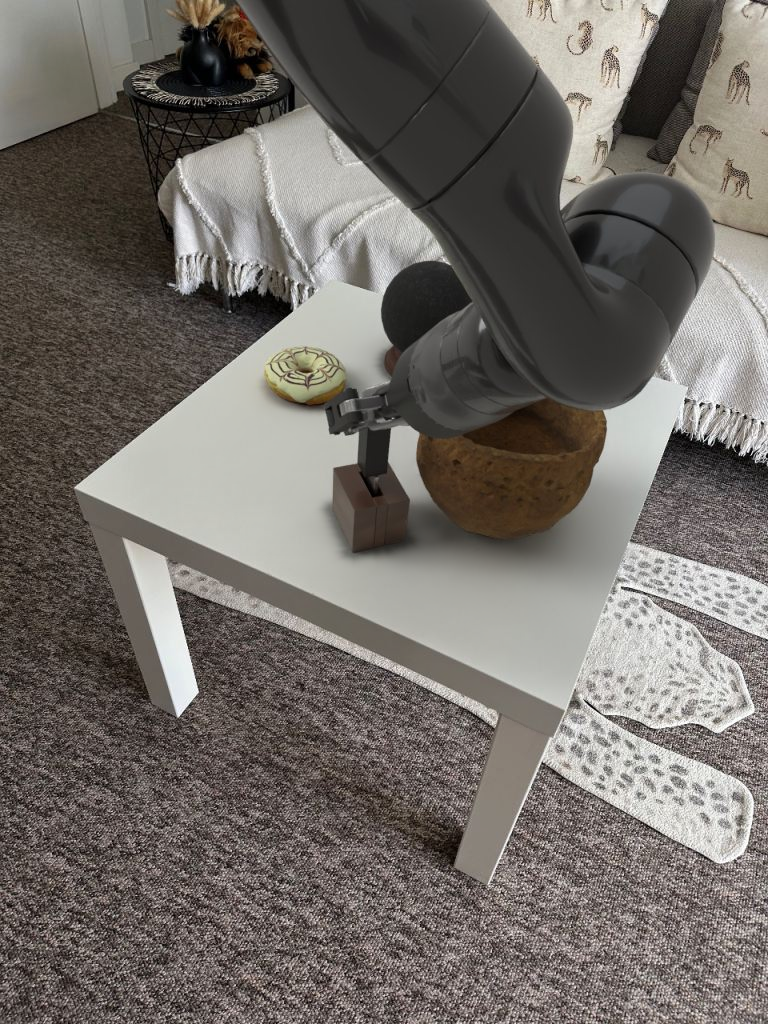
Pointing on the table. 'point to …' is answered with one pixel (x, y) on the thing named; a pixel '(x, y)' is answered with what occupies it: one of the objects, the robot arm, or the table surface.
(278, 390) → the decorated donut
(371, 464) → the knife
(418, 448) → the bowl
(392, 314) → the black ball on stand
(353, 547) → the knife block
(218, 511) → the table surface
